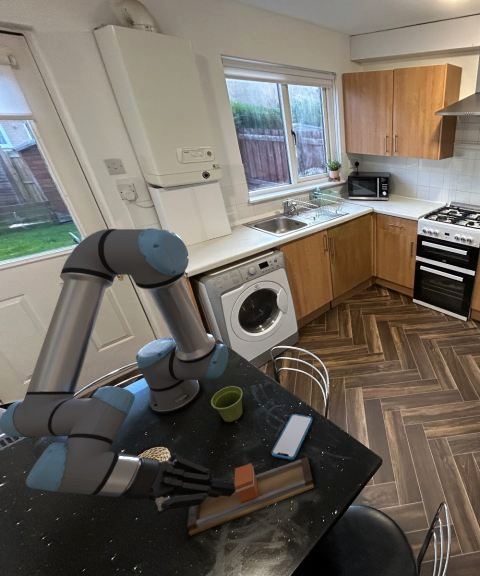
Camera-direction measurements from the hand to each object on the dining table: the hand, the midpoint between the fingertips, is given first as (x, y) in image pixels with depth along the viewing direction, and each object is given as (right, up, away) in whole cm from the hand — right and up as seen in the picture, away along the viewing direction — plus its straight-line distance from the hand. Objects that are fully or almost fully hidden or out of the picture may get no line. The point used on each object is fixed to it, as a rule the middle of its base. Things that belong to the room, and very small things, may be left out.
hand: (233, 490), depth 79 cm
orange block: (+3, -3, +3) cm, 5 cm away
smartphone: (+10, +4, +20) cm, 22 cm away
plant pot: (-13, +8, +27) cm, 31 cm away
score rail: (+4, -4, +4) cm, 7 cm away
